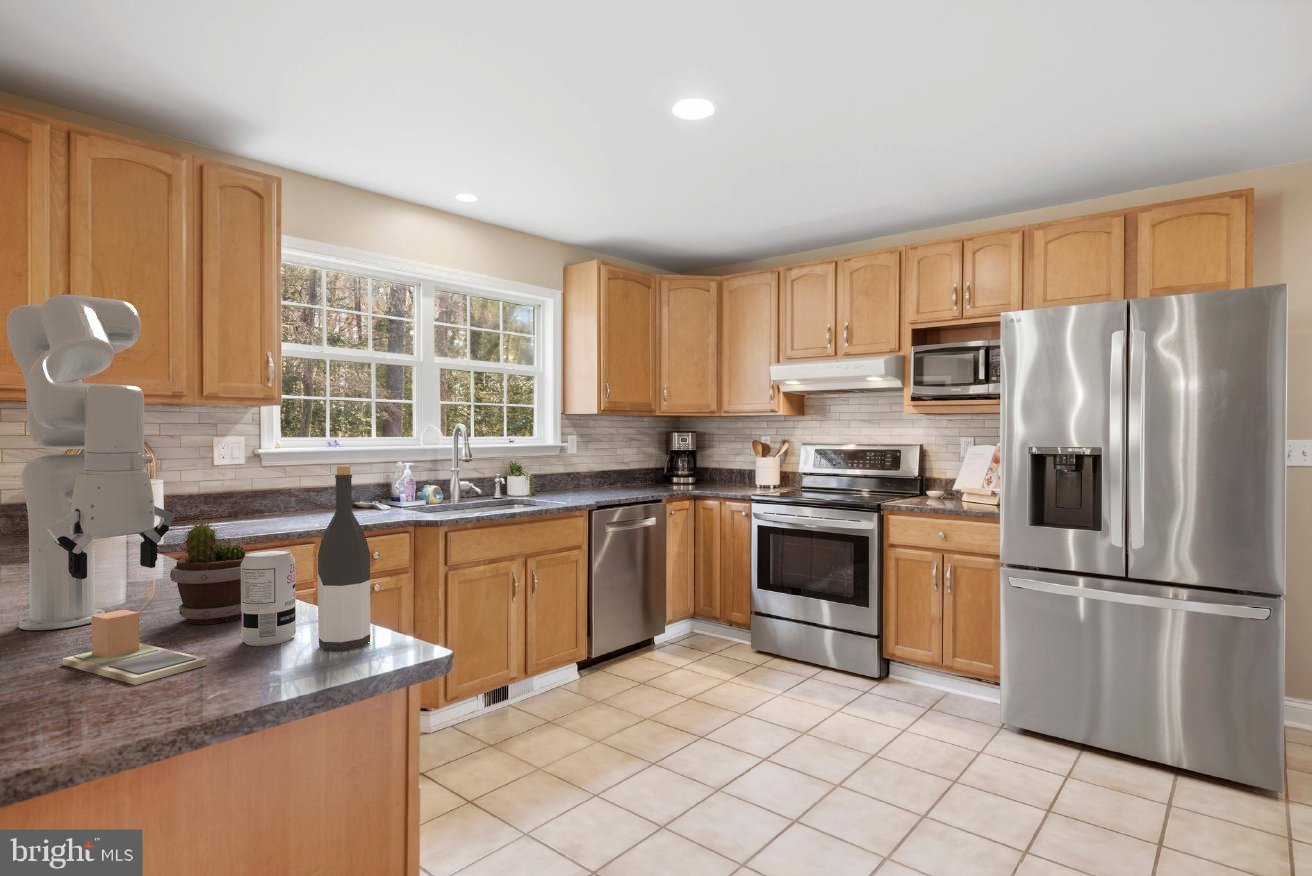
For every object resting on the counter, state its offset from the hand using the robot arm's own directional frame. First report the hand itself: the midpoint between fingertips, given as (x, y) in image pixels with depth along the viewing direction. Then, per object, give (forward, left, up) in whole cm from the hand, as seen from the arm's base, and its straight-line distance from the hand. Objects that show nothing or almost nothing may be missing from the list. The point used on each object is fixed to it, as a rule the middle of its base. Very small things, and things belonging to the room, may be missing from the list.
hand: (114, 572), depth 115 cm
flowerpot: (-11, +23, -14) cm, 29 cm away
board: (+6, 0, -14) cm, 15 cm away
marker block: (0, 0, -13) cm, 13 cm away
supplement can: (+12, +18, -14) cm, 26 cm away
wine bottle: (+26, +22, -14) cm, 37 cm away
